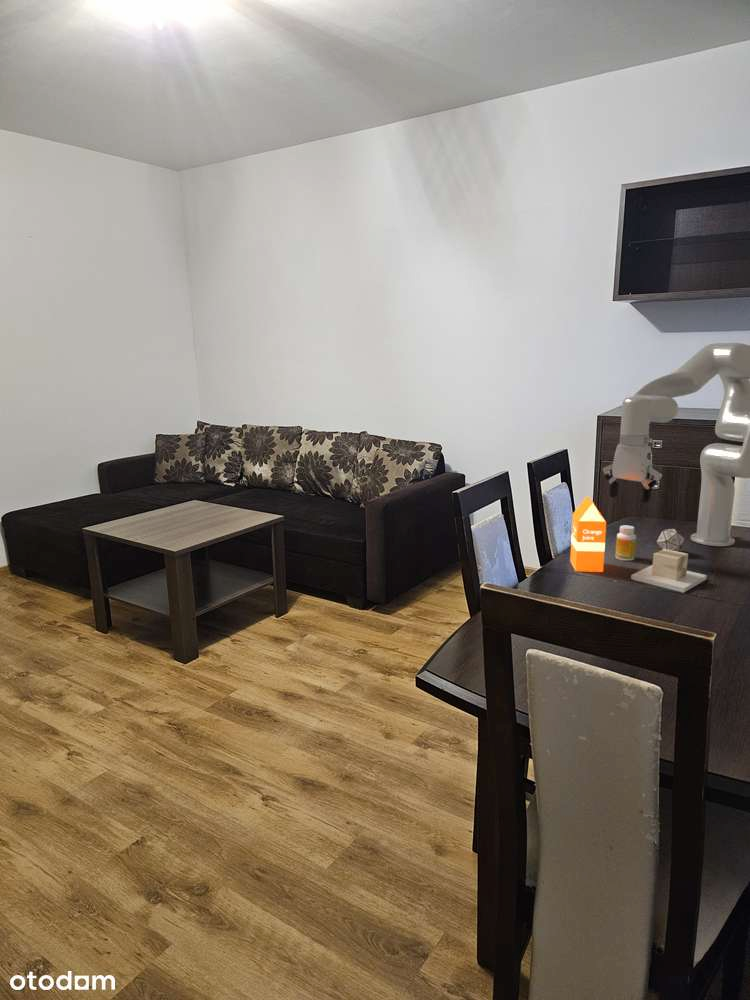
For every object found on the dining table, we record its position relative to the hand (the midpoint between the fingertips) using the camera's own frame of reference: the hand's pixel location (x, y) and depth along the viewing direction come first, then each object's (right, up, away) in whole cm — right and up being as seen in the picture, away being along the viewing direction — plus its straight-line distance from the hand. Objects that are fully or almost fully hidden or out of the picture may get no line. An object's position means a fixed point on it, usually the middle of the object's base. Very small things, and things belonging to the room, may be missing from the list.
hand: (629, 499), depth 187 cm
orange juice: (-14, -20, -3) cm, 24 cm away
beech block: (+5, -20, -14) cm, 25 cm away
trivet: (+5, -22, -14) cm, 26 cm away
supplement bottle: (0, -18, +4) cm, 18 cm away
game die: (+15, -17, +8) cm, 24 cm away
